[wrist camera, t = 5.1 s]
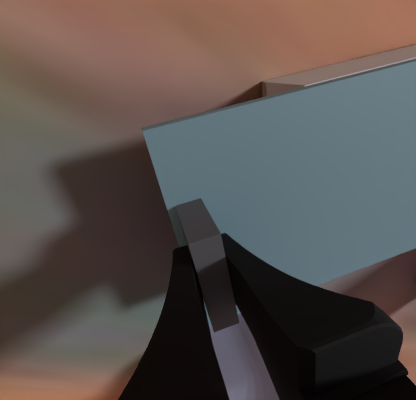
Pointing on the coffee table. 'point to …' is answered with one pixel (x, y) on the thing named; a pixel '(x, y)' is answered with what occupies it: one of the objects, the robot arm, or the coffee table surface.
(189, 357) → the robot arm
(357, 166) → the carton lid
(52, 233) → the coffee table surface
